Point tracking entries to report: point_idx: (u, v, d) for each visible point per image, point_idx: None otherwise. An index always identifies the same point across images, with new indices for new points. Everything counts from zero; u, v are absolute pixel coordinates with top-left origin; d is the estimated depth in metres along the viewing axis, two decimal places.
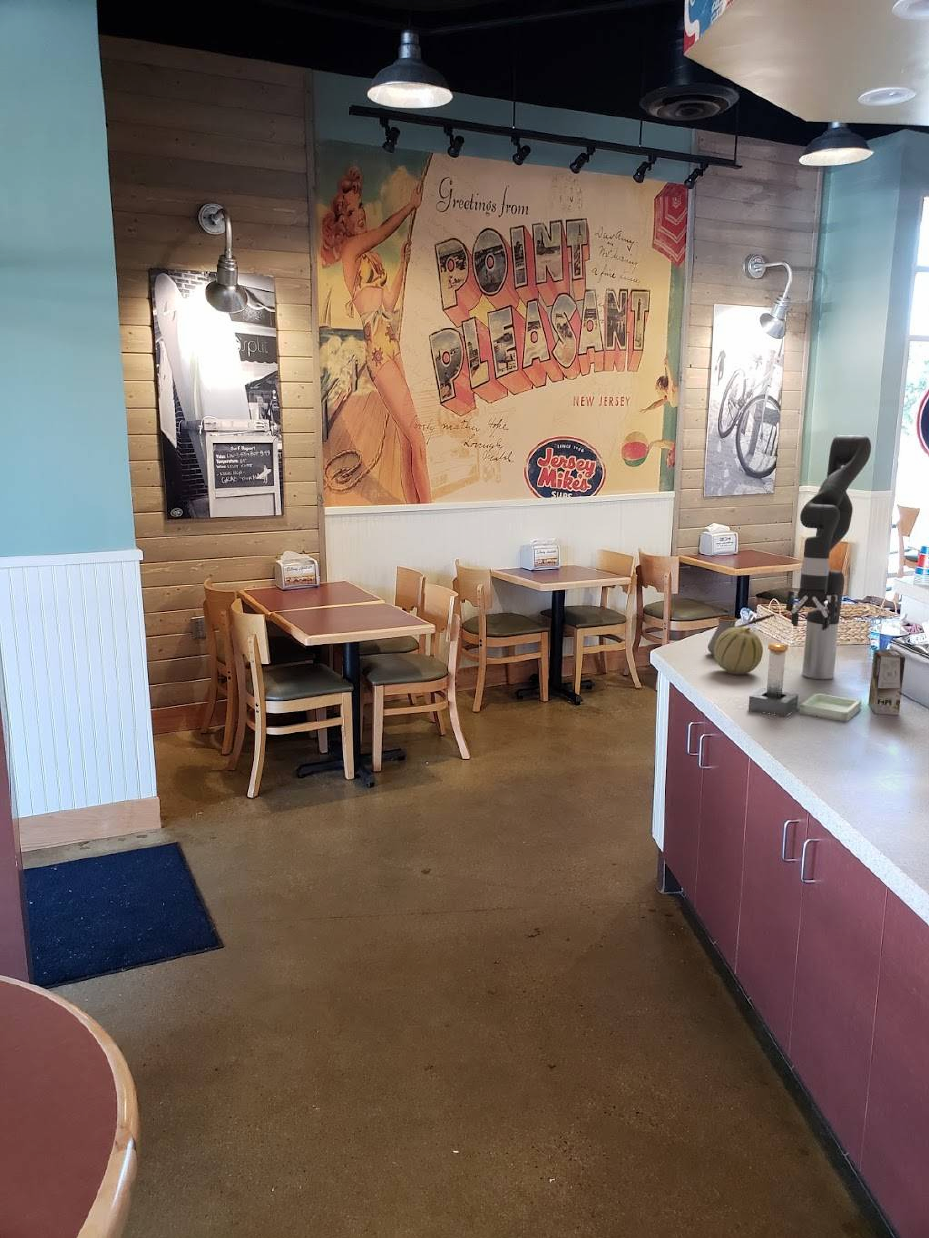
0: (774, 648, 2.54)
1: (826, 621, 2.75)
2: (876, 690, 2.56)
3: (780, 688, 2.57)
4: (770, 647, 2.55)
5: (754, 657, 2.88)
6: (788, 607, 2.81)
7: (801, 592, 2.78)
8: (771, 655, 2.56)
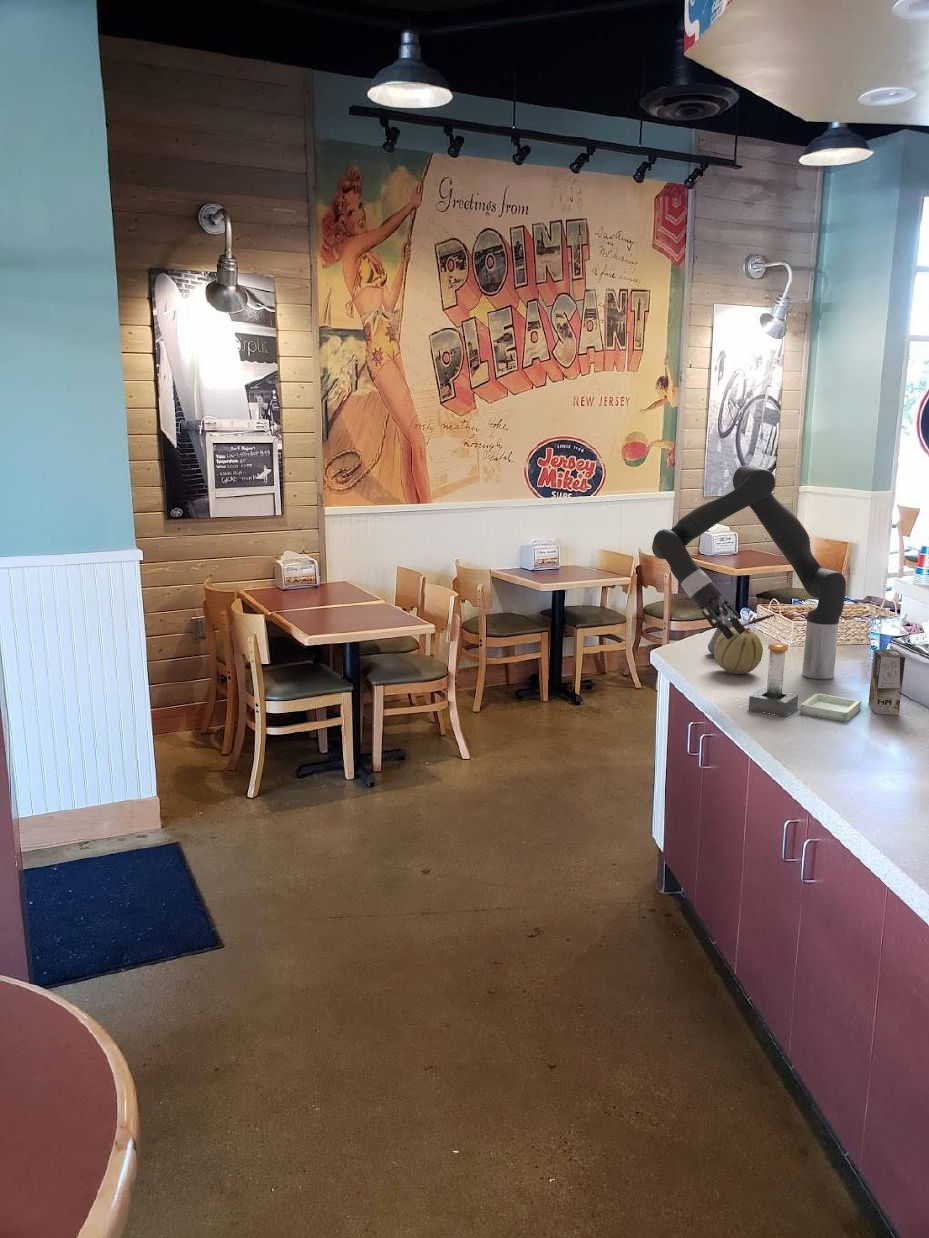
0: (774, 648, 2.54)
1: None
2: (876, 690, 2.56)
3: (780, 688, 2.57)
4: (770, 647, 2.55)
5: (754, 657, 2.88)
6: None
7: None
8: (771, 655, 2.56)
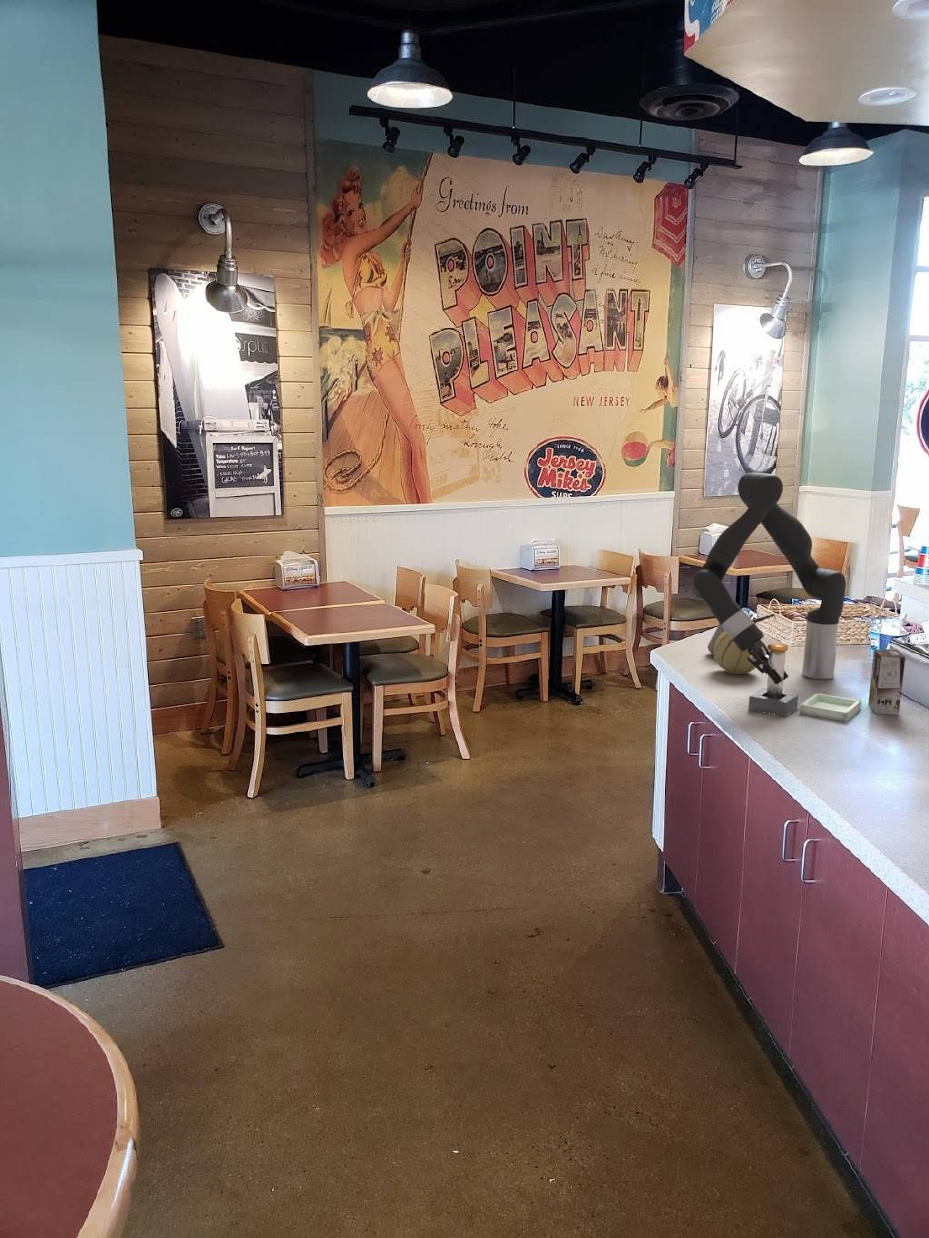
0: (774, 648, 2.54)
1: None
2: (876, 690, 2.56)
3: (780, 688, 2.57)
4: (770, 647, 2.55)
5: None
6: None
7: None
8: (771, 655, 2.56)
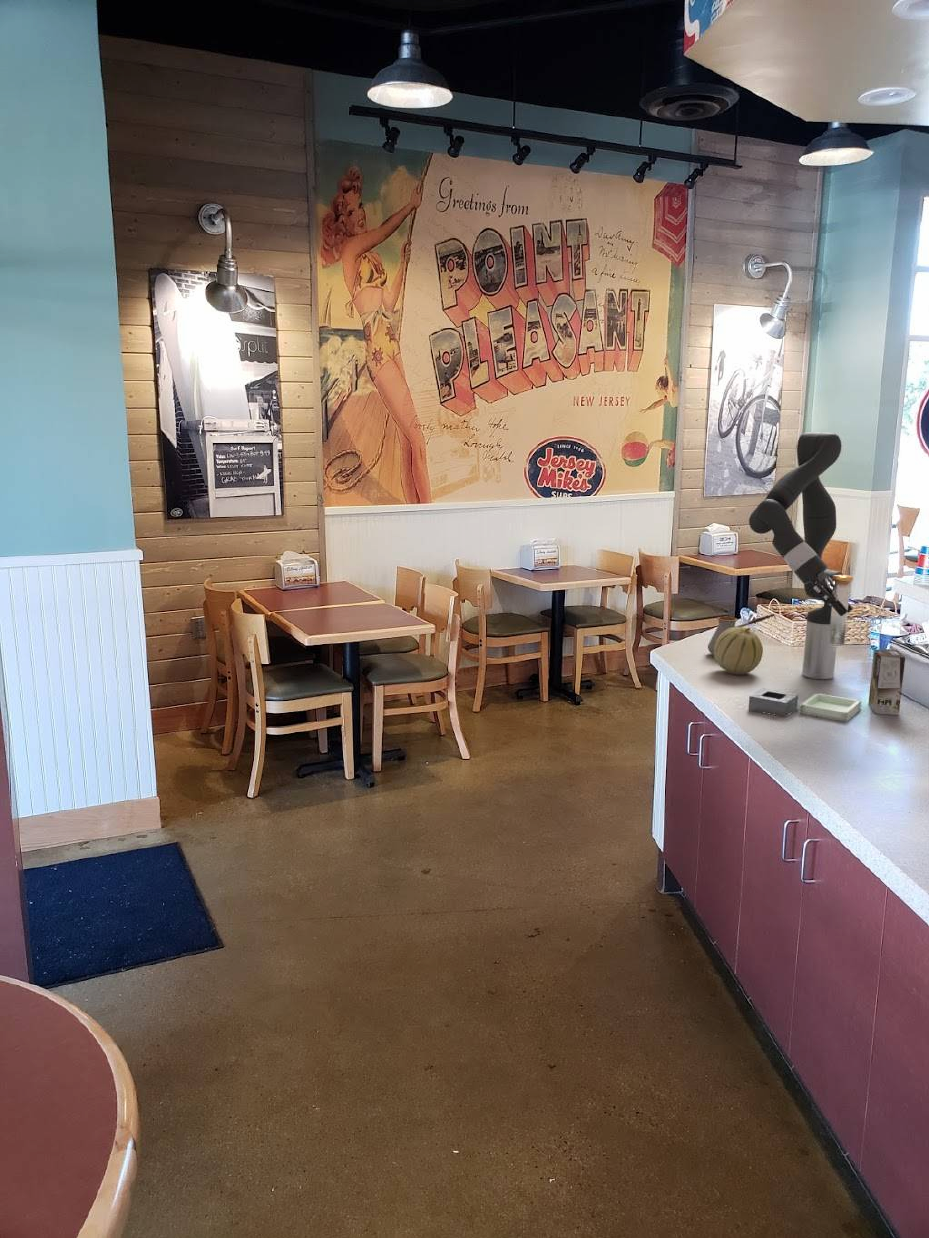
0: (839, 579, 2.49)
1: None
2: (876, 690, 2.56)
3: (845, 620, 2.51)
4: (835, 578, 2.50)
5: (755, 657, 2.88)
6: None
7: None
8: (836, 586, 2.50)
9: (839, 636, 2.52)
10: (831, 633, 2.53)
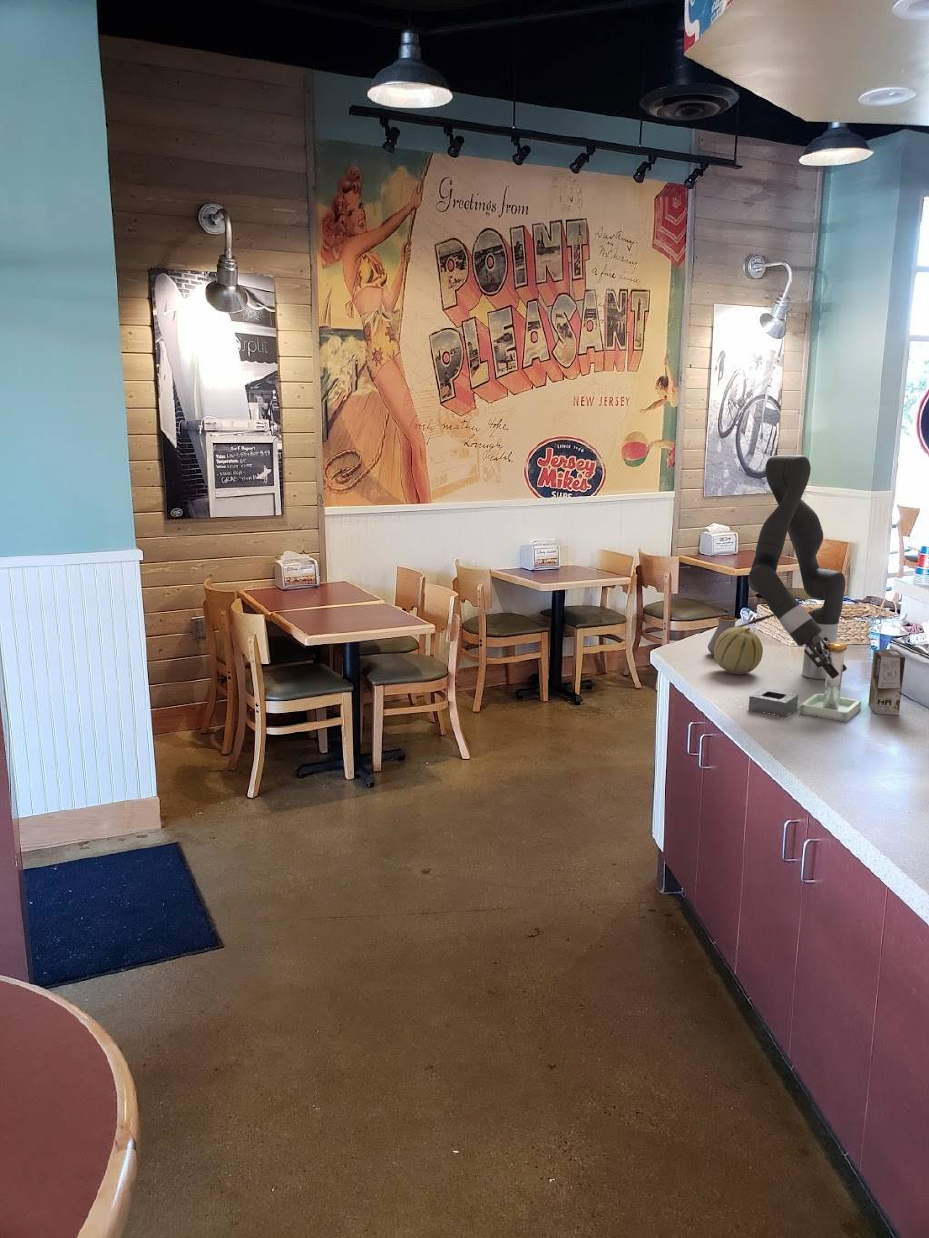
0: (834, 647, 2.52)
1: None
2: (876, 690, 2.56)
3: (838, 687, 2.55)
4: (829, 646, 2.53)
5: (754, 657, 2.88)
6: None
7: None
8: (830, 654, 2.54)
9: (833, 702, 2.56)
10: (825, 699, 2.57)
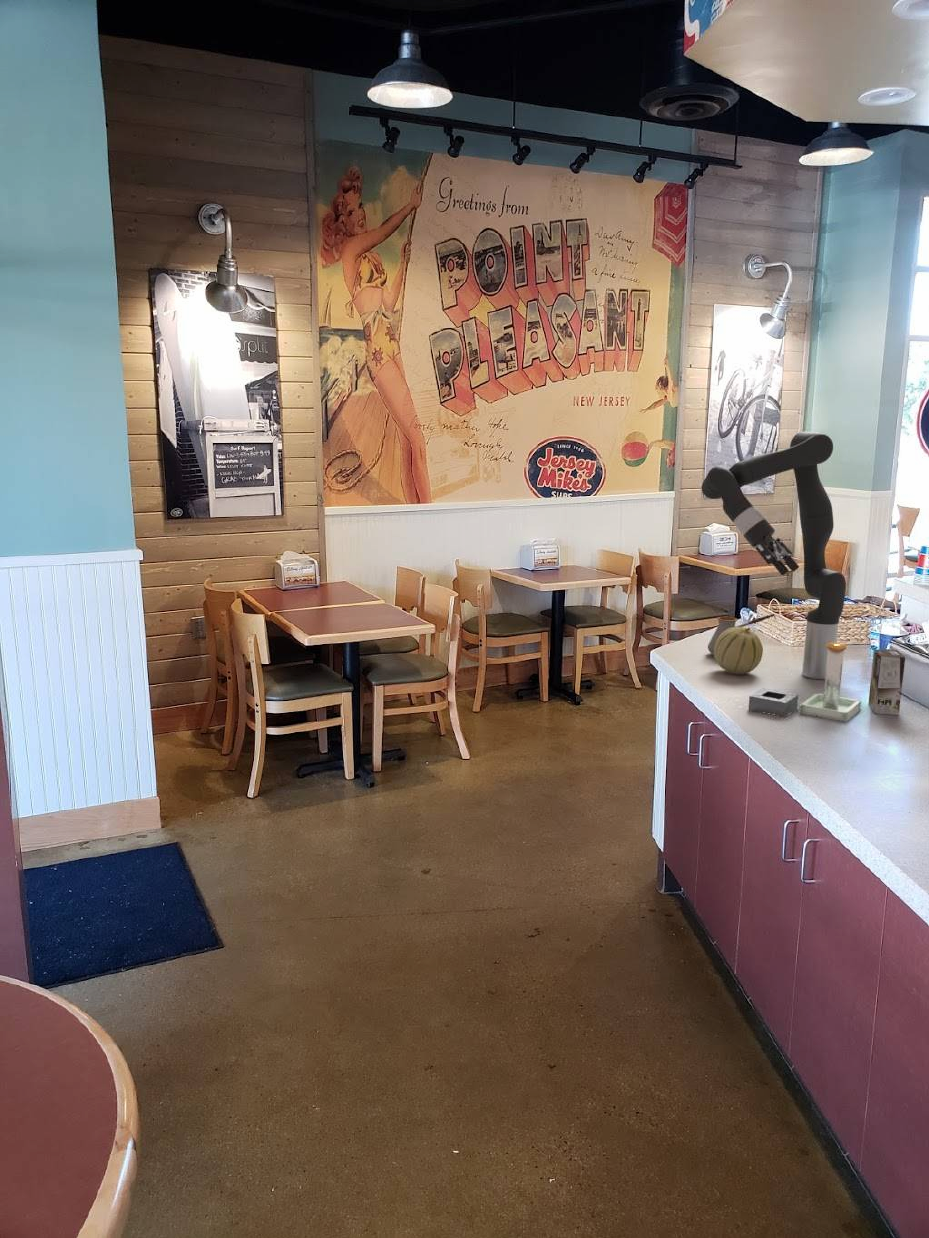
0: (833, 647, 2.52)
1: None
2: (876, 690, 2.56)
3: (838, 687, 2.55)
4: (828, 646, 2.54)
5: (754, 657, 2.88)
6: None
7: None
8: (829, 654, 2.54)
9: (832, 702, 2.56)
10: (825, 699, 2.57)
